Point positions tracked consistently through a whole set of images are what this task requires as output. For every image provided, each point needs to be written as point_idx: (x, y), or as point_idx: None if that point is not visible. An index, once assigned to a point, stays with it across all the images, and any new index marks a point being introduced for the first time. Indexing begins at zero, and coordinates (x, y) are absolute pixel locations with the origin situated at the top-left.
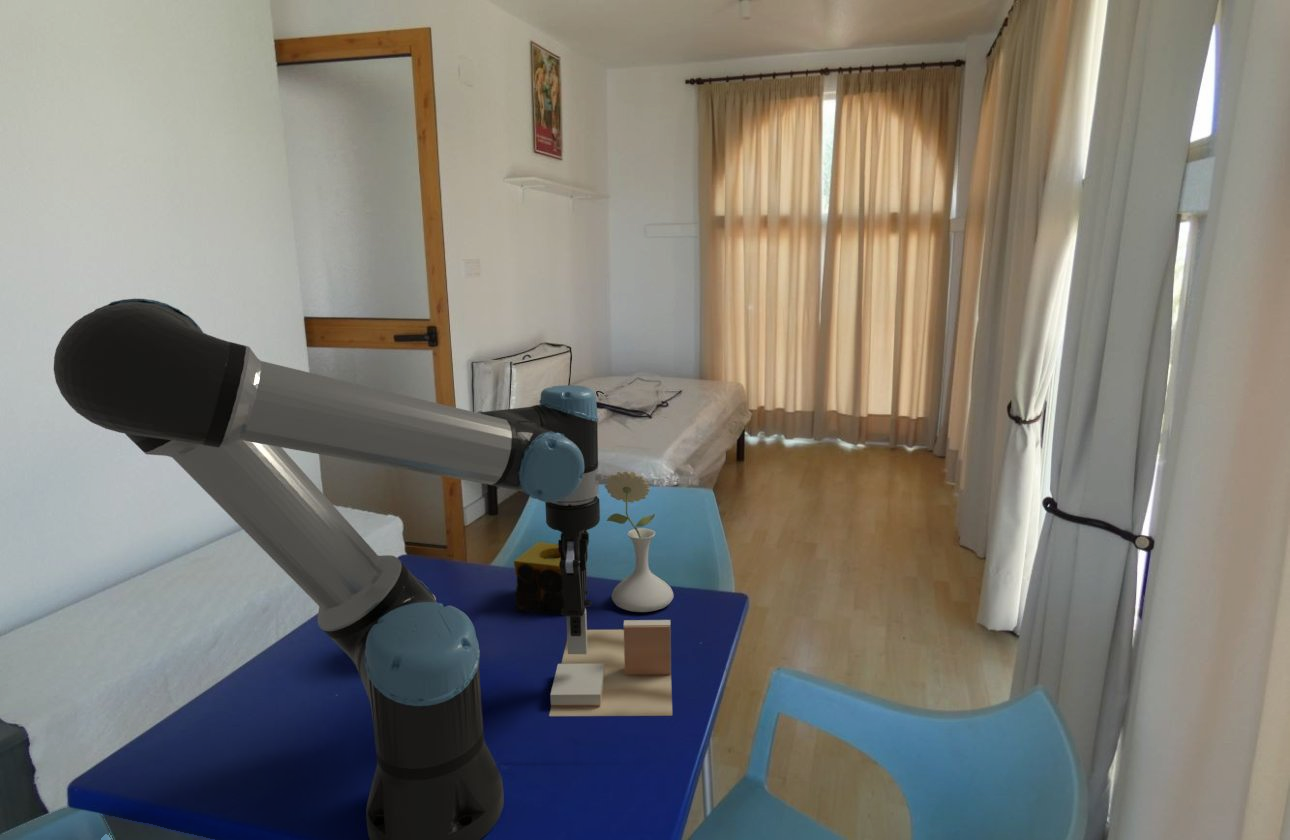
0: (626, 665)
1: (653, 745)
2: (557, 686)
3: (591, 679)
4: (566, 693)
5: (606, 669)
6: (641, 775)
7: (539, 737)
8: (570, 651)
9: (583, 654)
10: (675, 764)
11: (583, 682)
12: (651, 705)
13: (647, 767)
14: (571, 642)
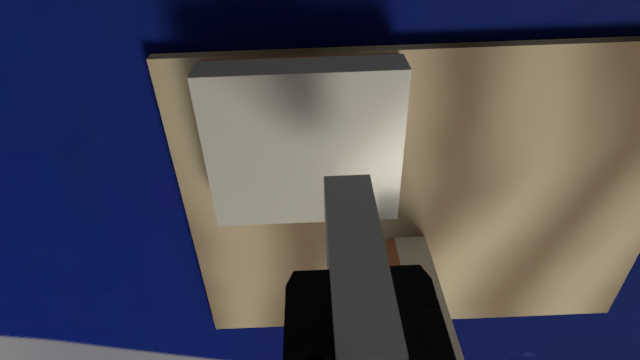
0: (390, 265)
1: (117, 296)
2: (246, 94)
3: (300, 194)
4: (204, 132)
5: (423, 193)
6: (10, 283)
7: (51, 37)
8: (324, 194)
9: (534, 116)
10: (71, 328)
11: (281, 174)
12: (248, 296)
13: (40, 290)
14: (326, 229)
